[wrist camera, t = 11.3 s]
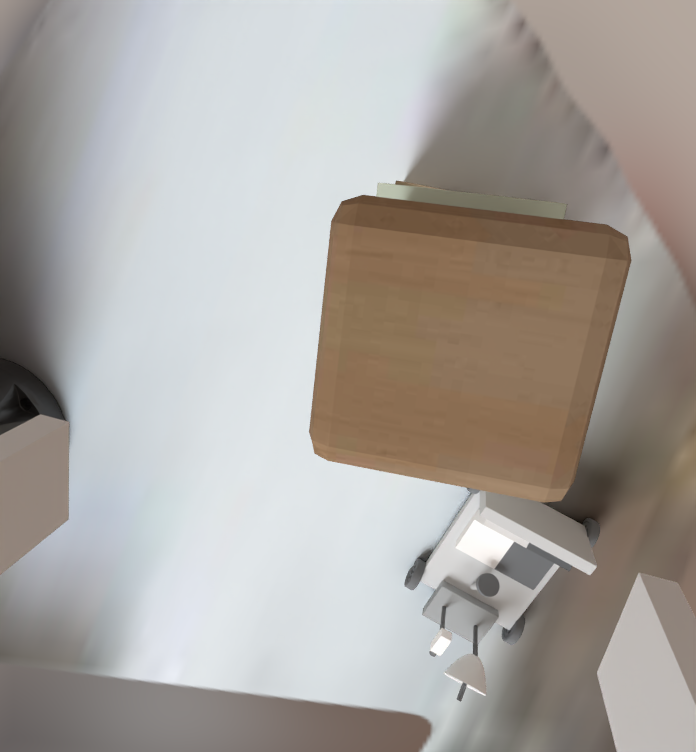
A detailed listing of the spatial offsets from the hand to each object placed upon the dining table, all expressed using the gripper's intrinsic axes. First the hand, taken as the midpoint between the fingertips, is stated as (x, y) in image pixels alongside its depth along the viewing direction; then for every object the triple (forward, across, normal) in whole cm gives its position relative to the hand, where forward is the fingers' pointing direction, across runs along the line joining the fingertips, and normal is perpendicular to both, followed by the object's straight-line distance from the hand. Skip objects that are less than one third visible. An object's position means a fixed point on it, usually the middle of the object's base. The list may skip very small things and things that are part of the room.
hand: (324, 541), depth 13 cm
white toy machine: (+39, +11, -25) cm, 47 cm away
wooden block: (+28, +2, +2) cm, 29 cm away
